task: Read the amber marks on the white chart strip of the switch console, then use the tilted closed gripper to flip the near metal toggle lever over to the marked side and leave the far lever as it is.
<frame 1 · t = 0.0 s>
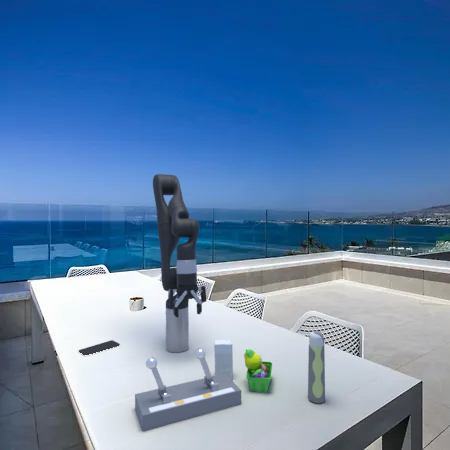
hand: (187, 315, 121), 17 cm above the table, tool pointing down, fingers open, 8 cm apart
fruit basket: (257, 385, 105), on the table
switch near: (157, 377, 89), point 10 cm above the table, hinge at -20.0°
spray bottle: (316, 400, 96), on the table
phone: (99, 349, 134), on the table
skincare box: (223, 377, 109), on the table
switch console: (188, 406, 93), on the table
switch far: (205, 367, 95), point 10 cm above the table, hinge at -20.0°
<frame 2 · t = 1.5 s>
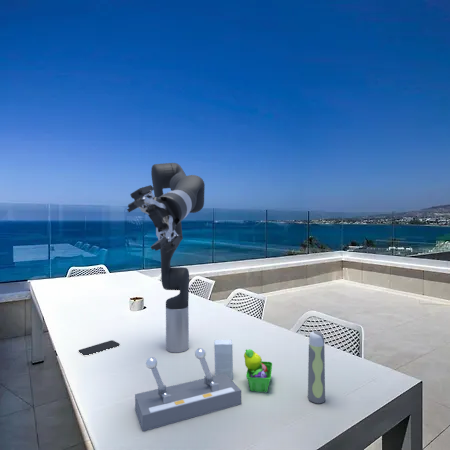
hand: (143, 228, 63), 52 cm above the table, tool tilted 75°, fingers open, 8 cm apart
nothing on the table moved.
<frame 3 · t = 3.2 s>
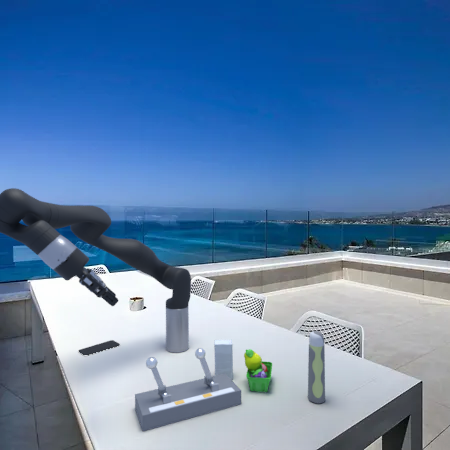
hand: (114, 300, 86), 32 cm above the table, tool tilted 45°, fingers open, 5 cm apart
nothing on the table moved.
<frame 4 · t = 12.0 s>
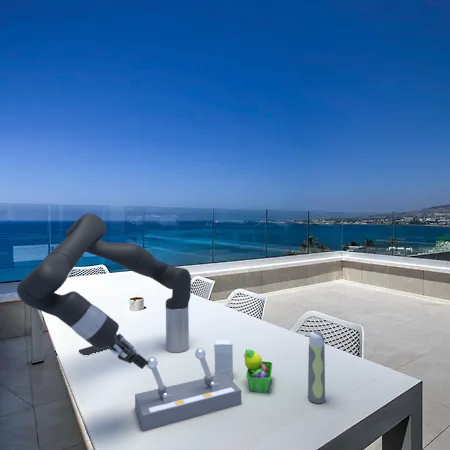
hand: (144, 364, 87), 14 cm above the table, tool tilted 45°, fingers closed
switch near: (157, 377, 89), point 10 cm above the table, hinge at -19.8°, touching gripper
everything else where it was.
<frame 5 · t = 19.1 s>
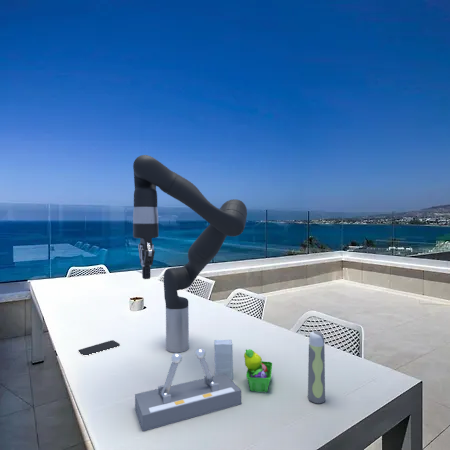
hand: (146, 278, 100), 35 cm above the table, tool pointing down, fingers closed
switch near: (171, 375, 90), point 10 cm above the table, hinge at 20.8°
everything else where it was.
at the end: switch near at +21° (first picture: -20°); switch far at -20° (first picture: -20°) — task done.
